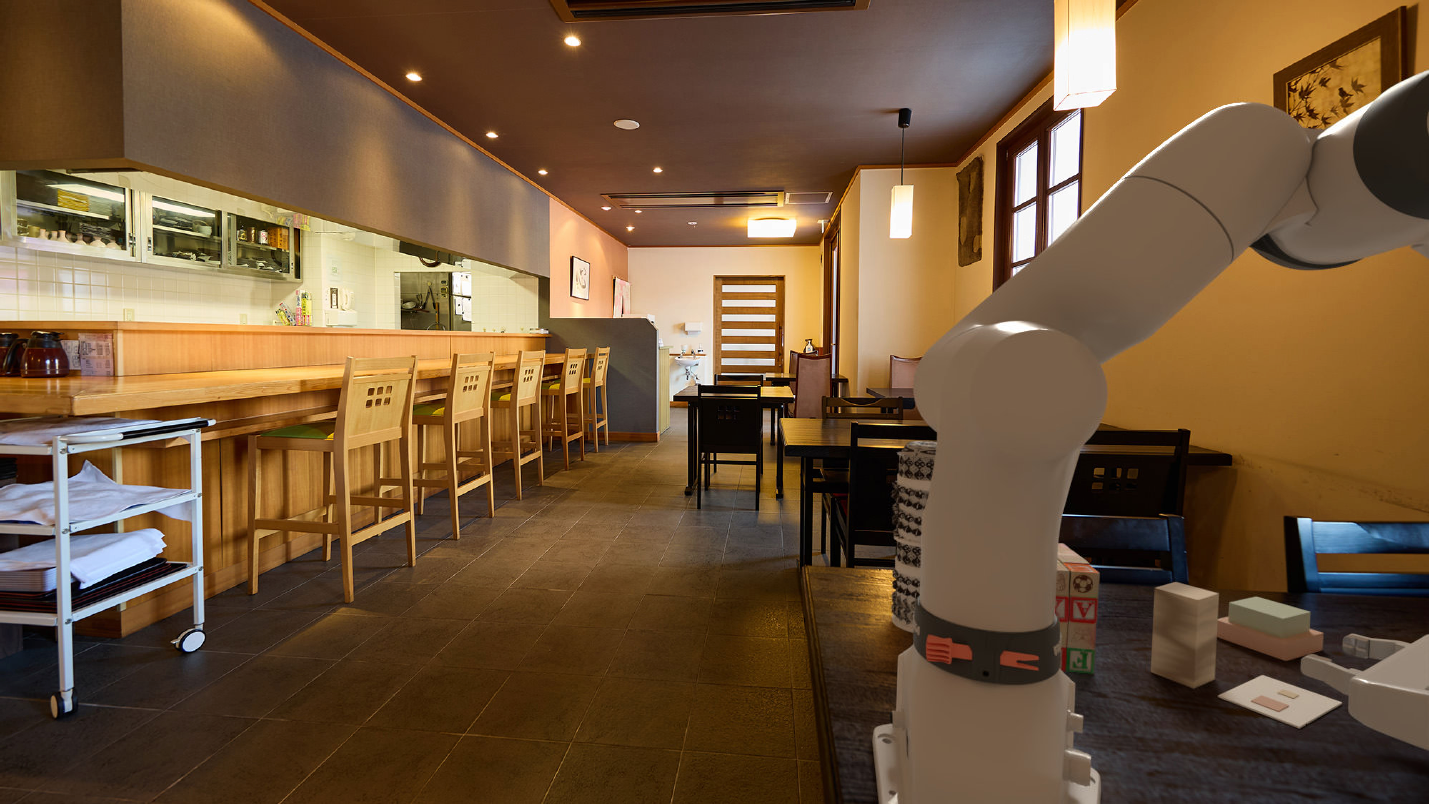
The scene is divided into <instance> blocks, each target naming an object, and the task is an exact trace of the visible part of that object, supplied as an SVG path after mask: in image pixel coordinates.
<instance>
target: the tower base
mask: <svg viewBox="0 0 1429 804" xmlns="http://www.w3.org/2000/svg"><path fill="white" fill-rule="evenodd" d="M1310 627H1311V611H1310V610H1309V611H1308V610H1305V609H1301V608H1298V607H1294V606H1292V605H1288V604H1285V603H1280V602H1278V601H1273V600H1270V599H1267V598H1266V599H1265V598H1263V597H1259V596H1253V597H1248V598H1244V599H1243V598H1242V599H1238V600H1235V601H1229V603H1228V616H1225V617H1221V618H1218V622H1217V638H1219V639H1222V640H1224V641H1228V642H1230V643H1233V644H1236V645H1239V646H1242V647H1244V648H1248V649H1251V650H1253V651H1257V652H1260V653H1262V654H1265V655H1268V656H1271V657H1274V658H1275V659H1279V660H1282V661H1285V662H1287V661H1290V660H1294V659H1297V658H1301V657H1305V656H1307V655H1310V654H1314V653H1317V652H1321V651H1323V649H1324V648H1323V646H1324V635H1325V634H1324V632H1321V631H1318V630H1316V629H1312V628H1310Z"/></svg>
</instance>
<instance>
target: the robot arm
mask: <svg viewBox="0 0 1429 804" xmlns="http://www.w3.org/2000/svg"><path fill="white" fill-rule="evenodd" d="M1408 246H1410V249H1411V250H1413V251H1415V252H1417V253H1418V254H1420V255H1422V256H1424V258H1426V259H1427V260H1429V69H1427V70H1424V71H1422V72H1419V73H1417V74H1415V75H1413V76H1411V77H1409V78H1407V79H1404V80H1403V81H1400V82H1398V83H1396V84H1394V85H1393V86H1391V87H1389V88H1388V89H1386V90H1385V91H1384V92H1382V93H1381V94H1380V95H1379V96H1377V98H1375V99H1374V100H1373V101H1371V102H1369V103H1367V104H1366V105H1364V106H1362V107H1361V108H1358V109H1357V110H1355V111H1353V112H1352V113H1350V114H1348V115H1347V116H1345V117H1343V118H1342V119H1340V120H1338V121H1337V122H1335V123H1334V124H1331V125H1329V126H1328V127H1325V128H1324V129H1323V128H1321V127H1320V128H1309V127H1304V126H1302V125H1301V124H1300V123H1299V122H1298V120H1296V119H1295V117H1293V116H1292V115H1290V114H1288V113H1287V112H1286V111H1284V110H1282V109H1281V108H1277V107H1274V106H1272V105H1269V104H1266V103H1262V102H1261V103H1260V102H1255V101H1254V102H1251V101H1249V102H1248V101H1245V102H1244V101H1243V102H1234V103H1229V104H1226V105H1221V106H1218V107H1217V108H1215V109H1213V110H1210V111H1209V112H1207V113H1205V114H1203V115H1202V116H1201V117H1199V118H1197V119H1195V120H1194V121H1192V122H1191V123H1189V124H1188V125H1187V126H1185V127H1184V128H1182V129H1180V131H1177V132H1176V133H1175V134H1174V135H1172V136H1171V137H1170V138H1168V139H1167V140H1165V141H1164V142H1162V144H1160V145H1159V146H1158V147H1156V148H1155V149H1154V150H1152V151H1151V152H1150V153H1149V154H1147V155H1146V156H1145V157H1144V158H1143V159H1141V160H1140V161H1139V162H1138V163H1137V164H1135V165H1134V166H1133V167H1132V168H1131V169H1129V171H1127V172H1126V174H1124V175H1123V176H1122V177H1121V178H1120V179H1119V180H1117V181H1116V183H1114V184H1113V185H1112V186H1111V187H1110V188H1109V189H1108V190H1107V191H1105V193H1104V194H1103V195H1102V196H1101V197H1099V198H1098V199H1097V200H1096V201H1095V202H1094V203H1093V204H1092V205H1091V206H1089V208H1088V209H1087V210H1085V211H1084V212H1083V213H1082V214H1081V216H1079V217H1078V218H1077V219H1076V220H1075V221H1074V222H1073V223H1072V224H1071V225H1070V226H1069V227H1068V228H1066V229H1065V231H1063V232H1062V234H1060V235H1059V236H1058V237H1057V238H1056V239H1055V240H1054V241H1053V242H1052V243H1051V244H1050V245H1049V246H1048V247H1046V248H1045V249H1044V250H1043V251H1042V252H1040V254H1038V255H1037V256H1036V257H1035V258H1034V259H1032V260H1031V261H1030V262H1029V263H1027V264H1026V265H1025V266H1024V267H1023V268H1021V269H1020V270H1019V271H1017V272H1016V273H1015V274H1014V275H1013V276H1011V277H1010V278H1009V279H1008V280H1007V281H1005V282H1004V283H1003V284H1001V286H1000V287H999V286H998V288H997V289H996V290H995V291H994V292H992V293H991V294H990V295H988V297H986V298H985V299H984V300H983V301H981V302H980V303H979V304H978V305H977V306H976V307H974V308H973V309H972V310H970V312H968V314H966V315H965V316H964V317H963V318H962V319H960V320H959V321H958V322H957V323H956V324H954V326H952V327H951V329H949V330H947V332H946V333H945V334H943V335H942V336H941V337H940V338H939V339H938V340H937V341H936V342H935V343H933V344H932V345H931V346H930V347H929V348H928V349H927V350H926V352H925V353H924V354H923V356H922V357H921V359H920V360H919V363H917V366H916V368H915V371H914V376H913V380H912V381H913V383H912V384H913V385H912V386H913V387H912V391H913V398H914V402H915V405H916V408H917V411H918V412H919V414H920V416H921V417H922V419H923V420H924V422H926V424H927V425H928V426H929V427H930V428H931V429H932V430H934V431H935V432H936V442H937V447H936V455H935V462H934V468H933V474H932V479H931V485H930V490H929V495H928V499H927V503H926V506H925V508H924V510H923V514H922V535H921V569H920V596H918V597H917V599H916V600H915V610H914V613H913V628H914V631H913V633H912V634H913V635H912V641H913V644H912V645H911V646H910V647H909V648H907V649H906V650H904V651H902V653H900V654H899V655H898V657H897V676H896V677H897V679H896V680H897V681H896V705H895V706H896V709H895V710H891V713H890V717H889V718H890V719H889V720H890V721H889V722H890V723H887V724H882V725H881V724H880V725H878V726H876V727H875V728H874V729H873V732H872V733H873V734H872V741H871V742H872V748H873V749H872V751H873V759H874V768H875V777H876V778H875V779H876V787H877V788H876V789H877V796H878V804H1101V794H1102V783H1101V780H1102V779H1101V776H1100V775H1101V774H1099V772H1098V771H1097V770H1096V769H1095V768H1093V767H1092V755H1091V754H1089V753H1088V752H1083V751H1082V750H1079V749H1078V748H1077V749H1076V748H1074V733H1075V732H1076V733H1078V734H1079V733H1080V734H1083V732H1084V721H1085V720H1084V715H1083V714H1079V713H1076V712H1075V705H1076V704H1075V702H1076V694H1075V693H1076V683H1075V682H1074V681H1072V679H1071V678H1070V677H1069V676H1068V675H1066V673H1064V671H1062V670H1061V669H1060V650H1061V647H1062V636H1061V632H1060V620H1059V618H1058V616H1057V615H1056V614H1055V600H1056V577H1057V557H1058V543H1059V541H1060V540H1059V538H1060V529H1061V524H1062V517H1063V512H1064V508H1065V506H1066V502H1067V498H1068V495H1069V491H1070V487H1071V483H1072V481H1073V477H1074V474H1075V470H1076V467H1077V465H1078V464H1077V463H1078V461H1079V457H1080V454H1081V451H1082V448H1083V447H1084V445H1085V444H1086V443H1087V442H1088V441H1089V440H1090V439H1091V438H1092V436H1093V435H1094V434H1095V433H1096V431H1097V429H1098V428H1099V426H1100V424H1101V422H1102V420H1103V418H1104V415H1105V412H1106V409H1107V404H1108V383H1107V379H1106V375H1105V372H1104V369H1103V367H1102V365H1104V364H1105V363H1106V362H1108V361H1110V360H1112V359H1113V358H1115V357H1116V356H1118V355H1120V354H1122V353H1123V352H1125V351H1126V350H1128V349H1130V348H1132V347H1135V346H1136V345H1139V344H1141V343H1142V342H1144V341H1145V340H1147V339H1149V338H1151V336H1153V335H1154V334H1155V333H1156V332H1158V331H1159V329H1161V328H1162V327H1164V325H1165V324H1167V323H1168V321H1170V320H1171V319H1172V318H1173V317H1174V316H1175V315H1177V314H1178V313H1179V312H1180V311H1181V310H1182V309H1183V308H1185V306H1187V305H1188V304H1189V303H1190V302H1191V301H1192V300H1193V299H1194V298H1195V297H1197V295H1198V294H1200V293H1201V292H1202V291H1203V290H1204V289H1205V288H1206V287H1207V286H1209V284H1211V283H1212V282H1214V280H1216V278H1218V276H1220V275H1221V274H1222V273H1223V272H1224V271H1225V270H1226V269H1227V268H1229V266H1230V265H1232V264H1234V263H1233V262H1235V261H1236V260H1237V259H1239V257H1240V256H1241V255H1242V254H1244V253H1245V251H1246V250H1247V249H1248V248H1251V249H1252V250H1253V251H1254V252H1255V253H1256V254H1258V255H1259V256H1260V257H1262V258H1264V259H1265V260H1267V261H1269V262H1271V263H1273V264H1275V265H1277V266H1280V267H1283V268H1287V269H1290V270H1298V271H1325V270H1331V269H1335V268H1336V269H1337V268H1342V267H1345V266H1349V265H1352V264H1353V265H1354V264H1355V263H1357V262H1359V261H1362V260H1364V259H1366V258H1369V257H1373V256H1377V255H1380V254H1384V253H1388V252H1391V251H1395V250H1396V249H1401V248H1404V247H1405V248H1406V247H1408ZM1341 646H1342V647H1341V648H1342V649H1341V650H1343V652H1344V653H1345V654H1347V655H1351V656H1355V657H1356V658H1361V659H1364V660H1366V659H1368V658H1370V659H1374V660H1379V662H1377V663H1375V664H1374V665H1372V666H1369V668H1366V669H1364V670H1359V669H1356V668H1352V667H1351V668H1345V667H1344V666H1341V665H1338V664H1336V663H1334V662H1332V661H1333V659H1331V658H1327V657H1326V656H1325V657H1324V656H1319V655H1317V654H1314V653H1311V654H1308V655H1304V656H1302V658H1301V659H1300V672H1301V673H1302V675H1304V676H1306V677H1309V678H1312V679H1315V680H1318V681H1321V682H1324V683H1325V684H1327V685H1328V686H1330V687H1332V688H1333V689H1335V690H1337V691H1338V692H1339V693H1342V694H1343V695H1344V696H1345V695H1346V696H1348V713H1349V715H1350V716H1351V717H1352V718H1354V719H1355V720H1356V721H1358V722H1359V723H1361V724H1362V725H1364V726H1366V727H1368V728H1370V729H1372V730H1374V731H1377V732H1379V733H1382V734H1384V735H1387V736H1390V737H1391V738H1395V739H1396V740H1400V741H1402V742H1405V743H1407V744H1409V745H1413V746H1415V747H1417V748H1420V749H1424V750H1426V751H1428V752H1429V634H1425V635H1423V636H1422V637H1420V638H1419V639H1417V640H1415V641H1413V642H1412V643H1409V642H1406V641H1402V640H1395V639H1386V638H1385V639H1383V638H1371V637H1367V636H1364V635H1360V634H1356V633H1350V634H1348V635H1345V636H1344V637H1343V639H1342V645H1341Z"/></svg>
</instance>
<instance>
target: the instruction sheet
mask: <svg viewBox="0 0 1429 804" xmlns="http://www.w3.org/2000/svg"><path fill="white" fill-rule="evenodd" d="M1217 697H1218V698H1220V699H1222V700H1224V701H1227V702H1229V703H1232V704H1234V705H1237V706H1240V707H1241V708H1245V709H1248V710H1250V711H1252V712H1256V713H1258V714H1261V715H1262V716H1266V717H1269V718H1270V719H1273V720H1276V721H1278V722H1281V723H1283V724H1286V725H1288V726H1291V727H1294V728H1297V729H1299V730H1300V729H1301V728H1304V727H1305V726H1306V724H1307V725H1309V724H1310V723H1312V722H1313V721H1315V720H1317V719H1318V718H1320V717H1322V716H1324V715H1326V714H1327V713H1329V712H1331V711H1332V710H1334V709H1336V708H1339V706H1341V705H1342V704H1343V702H1342V701H1339V700H1337V699H1333V698H1330V697H1328V696H1325V695H1321V694H1319V693H1316V692H1314V691H1311V690H1307V689H1305V688H1302V687H1298V686H1296V685H1292V684H1290V683H1288V682H1284V681H1281V680H1279V679H1276V678H1272V677H1269V676H1267V675H1264V674H1263V675H1262V674H1261V675H1259V676H1257V677H1254V679H1251V680H1249V681H1247V682H1244V683H1241V684H1240V685H1237V686H1236V687H1233V688H1232V689H1229V690H1227V691H1225V692H1223V693H1220V694H1218V695H1217Z"/></svg>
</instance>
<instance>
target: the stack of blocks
mask: <svg viewBox="0 0 1429 804" xmlns="http://www.w3.org/2000/svg"><path fill="white" fill-rule="evenodd" d="M1099 588H1100V572H1099V571H1098V570H1096V569H1095V567H1093V566H1091V565H1090V562H1088V561H1087V560H1086V559H1085V558H1083V557H1082V556H1080V555H1079V553H1077V552H1075V551H1074V550H1072V549H1071V548H1069V546H1067V545H1066V544H1065V543H1059V542H1058V557H1057V577H1056V600H1055V614H1056V615H1057V616H1058V618H1059V620H1060V632H1061V636H1062V647H1061V650H1060V669H1061V670H1062V672H1069V673H1080V674H1081V673H1083V674H1091V675H1092V674H1093V675H1094V673H1095V664H1096V662H1095V661H1096V651H1097V650H1096V649H1095V648H1096V635H1097V623H1098V612H1099V610H1098V609H1099V590H1100V589H1099Z"/></svg>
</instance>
